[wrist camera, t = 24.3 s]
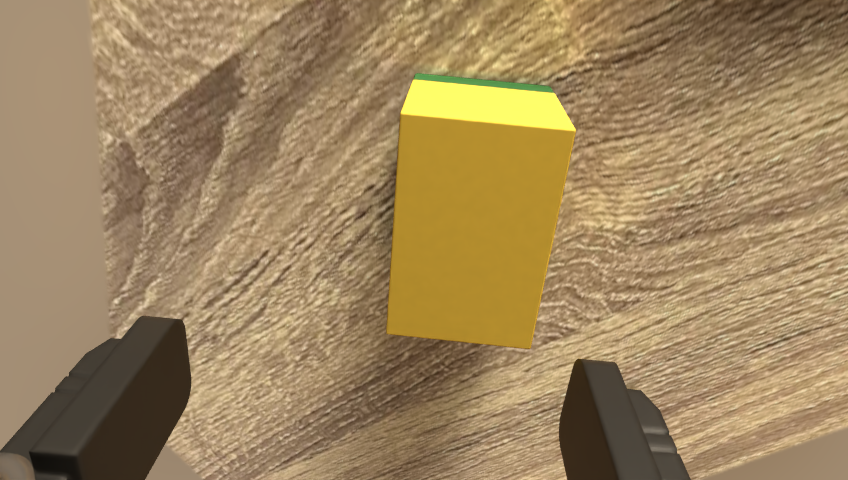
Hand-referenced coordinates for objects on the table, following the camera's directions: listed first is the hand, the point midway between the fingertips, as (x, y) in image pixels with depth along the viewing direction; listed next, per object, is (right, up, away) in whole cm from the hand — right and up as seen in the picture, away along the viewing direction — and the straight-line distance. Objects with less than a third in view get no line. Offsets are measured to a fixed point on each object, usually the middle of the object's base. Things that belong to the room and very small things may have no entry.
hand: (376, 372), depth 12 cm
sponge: (+3, +5, +9) cm, 10 cm away
